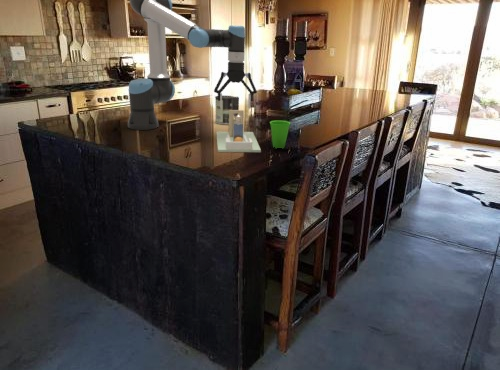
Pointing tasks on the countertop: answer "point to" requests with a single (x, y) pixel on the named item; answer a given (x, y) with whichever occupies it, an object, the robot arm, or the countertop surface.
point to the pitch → (226, 138)
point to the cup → (279, 133)
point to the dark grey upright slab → (237, 119)
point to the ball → (238, 139)
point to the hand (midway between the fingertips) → (235, 107)
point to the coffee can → (223, 109)
